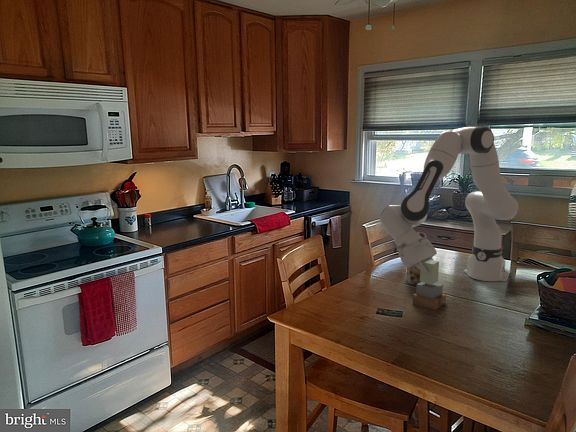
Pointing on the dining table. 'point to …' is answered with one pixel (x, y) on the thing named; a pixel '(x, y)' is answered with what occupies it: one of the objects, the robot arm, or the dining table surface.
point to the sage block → (430, 271)
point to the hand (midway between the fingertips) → (430, 270)
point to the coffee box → (413, 275)
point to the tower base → (429, 301)
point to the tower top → (429, 290)
